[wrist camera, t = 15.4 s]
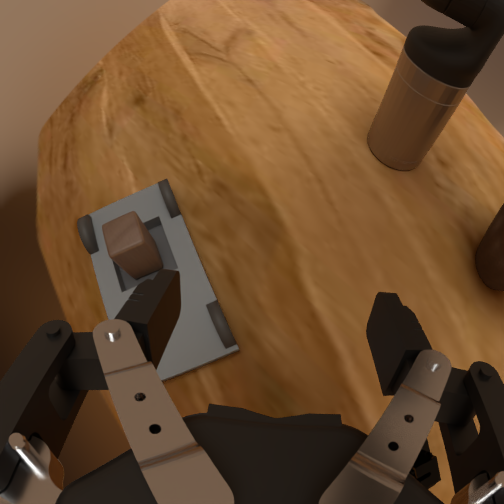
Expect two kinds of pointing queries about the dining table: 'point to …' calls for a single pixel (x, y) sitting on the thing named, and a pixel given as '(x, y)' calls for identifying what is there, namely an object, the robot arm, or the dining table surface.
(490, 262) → the plant pot
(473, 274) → the dining table surface
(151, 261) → the wooden block
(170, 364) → the chassis
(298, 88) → the dining table surface
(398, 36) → the dining table surface
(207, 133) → the dining table surface
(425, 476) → the black block
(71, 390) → the robot arm
